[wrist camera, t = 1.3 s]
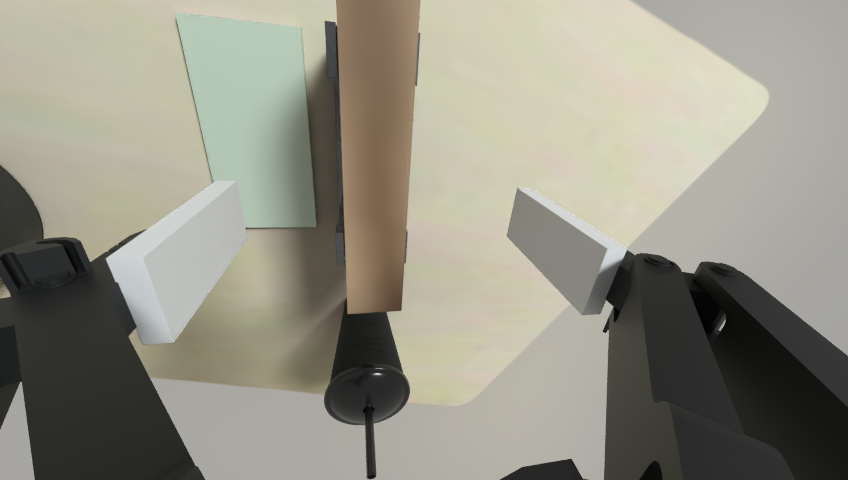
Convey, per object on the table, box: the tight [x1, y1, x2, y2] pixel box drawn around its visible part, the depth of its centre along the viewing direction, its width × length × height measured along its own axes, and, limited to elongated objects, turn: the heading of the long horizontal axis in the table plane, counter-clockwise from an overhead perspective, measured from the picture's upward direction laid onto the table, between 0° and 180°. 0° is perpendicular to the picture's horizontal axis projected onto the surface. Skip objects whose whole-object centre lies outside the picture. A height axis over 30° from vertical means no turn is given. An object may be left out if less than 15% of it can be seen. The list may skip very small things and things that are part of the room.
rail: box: [336, 0, 420, 314], centre depth 22 cm, size 4×20×6 cm, turn 175°
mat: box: [175, 12, 317, 228], centre depth 29 cm, size 9×18×1 cm, turn 175°
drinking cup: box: [324, 299, 410, 479], centre depth 31 cm, size 8×8×20 cm
